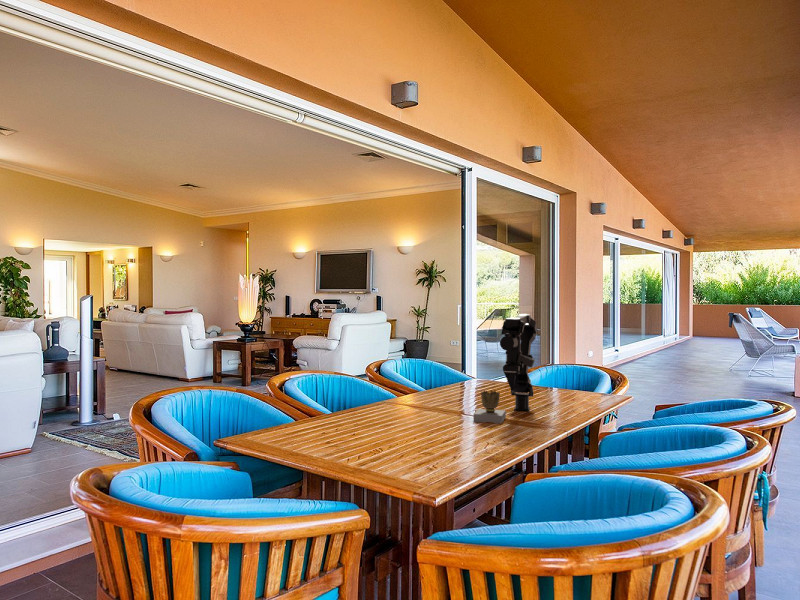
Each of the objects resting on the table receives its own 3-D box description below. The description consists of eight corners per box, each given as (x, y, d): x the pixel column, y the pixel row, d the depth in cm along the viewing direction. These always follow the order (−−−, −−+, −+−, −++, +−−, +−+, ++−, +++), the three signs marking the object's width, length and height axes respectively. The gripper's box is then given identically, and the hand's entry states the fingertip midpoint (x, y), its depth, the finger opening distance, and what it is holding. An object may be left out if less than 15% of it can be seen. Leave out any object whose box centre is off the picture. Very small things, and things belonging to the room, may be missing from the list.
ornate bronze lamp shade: (499, 410, 230) (499, 390, 230) (500, 414, 223) (500, 393, 223) (480, 410, 231) (480, 390, 231) (481, 413, 224) (481, 393, 224)
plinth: (478, 416, 234) (478, 408, 234) (505, 417, 230) (505, 410, 230) (473, 421, 223) (473, 413, 223) (501, 423, 220) (501, 415, 220)
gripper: (531, 351, 223) (531, 391, 223) (535, 347, 240) (535, 384, 240) (502, 350, 226) (502, 389, 226) (508, 346, 244) (508, 383, 244)
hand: (513, 386), depth 234 cm, fingers open, 9 cm apart
